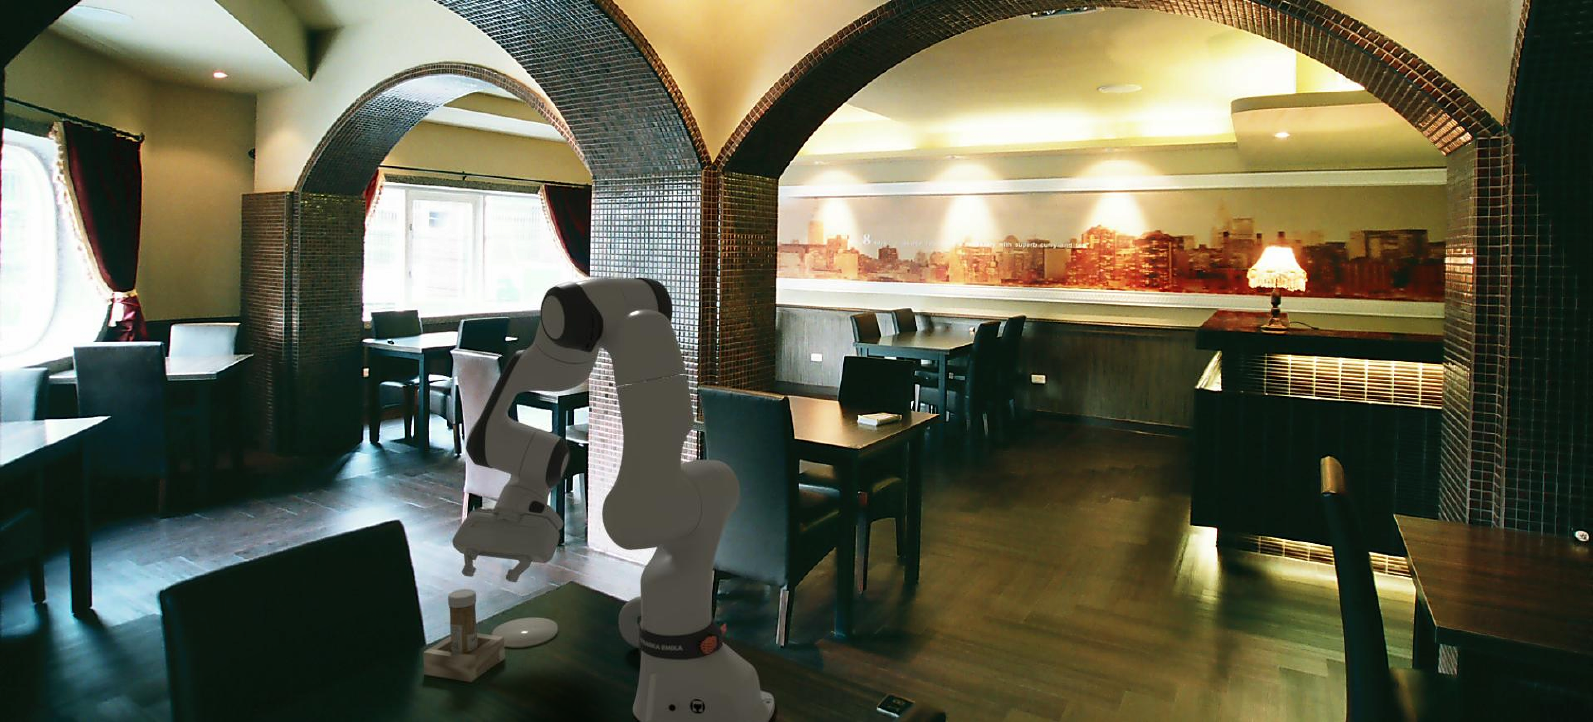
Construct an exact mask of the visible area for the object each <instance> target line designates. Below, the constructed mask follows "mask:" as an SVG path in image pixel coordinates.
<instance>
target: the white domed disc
mask: <svg viewBox="0 0 1593 722" xmlns="http://www.w3.org/2000/svg"><path fill="white" fill-rule="evenodd" d="M558 628H559V627H558V624H557V623H556V622H555V621H554V620H552V619H549V618H543V617H524V618H517V619H513V620H510V621H507V622H504V623H502V624H500V625H498V626H496V627H495V628H494V629H493V630H492V632H491V635H493V636H500V637H504V648H527V647H533V646H536V645H540V644H543V643H545V642H548V641H550V640H552V639H553V638H555V636H557V634H558V631H559V629H558Z"/></svg>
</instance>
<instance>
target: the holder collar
mask: <svg viewBox="0 0 1593 722" xmlns="http://www.w3.org/2000/svg"><path fill="white" fill-rule="evenodd" d="M477 642H478V646H477V649H476V650H474V651H473V652H471V653H470V654H468V655H467V654H461V653H454V652H452V649H451V635H449V636H448V637H446V638H445V639H443V640H441V641H439V642H438V643H436V644H435V645H433V646H431V647H429V648H428V649H426V650H424V651H423V652H422V654H423V656H422V657H423V673H424V675H425V676H433V677H439V678H445V679H450V680H457V681H464V682H468V683H471V682H474V681H475V680H476V679H478V678H479V677H481V676H482V675H483V674H485V673H486V672H488V671H489V670H490V669H492V668H493V667H495V666H496V665H497V664H500V663H501V662H502V661H503V660H505V659H506V655H505V654H506V653H505V652H506V651H505V647H504V637H500V636H493V635H492V634H486V633H478V632H477ZM487 670H488V671H487Z"/></svg>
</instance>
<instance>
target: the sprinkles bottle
mask: <svg viewBox="0 0 1593 722" xmlns="http://www.w3.org/2000/svg"><path fill="white" fill-rule="evenodd" d="M447 601H448V602H447V603H448V608H449V620H450V621H449V622H450V623H449V627H450V628H449V629H450V636H451V649H452V652H454V653H461V654H467V655H468V654H470V653H471V652H473V651H474V650H476V649H477V646H478V642H477V633H478V631H477V630H478V628H477V617H476V615H477V613H476V603H477V593H476V590H473V589H471V588H464V589H463V588H462V589H458V590H453V591H452V592H450V593H448V596H447Z"/></svg>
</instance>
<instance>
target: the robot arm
mask: <svg viewBox="0 0 1593 722" xmlns="http://www.w3.org/2000/svg"><path fill="white" fill-rule="evenodd" d="M673 311H674V310H673V301H672V299H671V295H670V293H669V291H668V289H667V287H665V285H664V284H663V283H662V282H660V281H658V280H656V279H652V278H648V277H635V278H624V277H623V278H622V277H621V278H619V277H618V278H617V277H615V278H614V277H613V278H612V277H611V278H609V277H599V278H598V277H597V278H591V279H584V280H579V281H567V282H563V283H560V284H557V285H554V286H552V287H550V288H549V289H548V290H547V291H546V292H545V293H544V296H543V299H542V300H541V305H540V320H539V323H538V327H537V330H536V333H535V337H534V339H533V342H532V344H531V345H530V346H529V347H528V348H526V349H522V350H517V351H516V352H515V353H514V354H513V355H512V356H511V357H510V359H509V360H508V361H507V363H506V365H505V366H504V368H503V370H502V372H501V374H500V375H499V377H498V379H497V381H496V383H495V385H494V387H493V389H492V391H491V394H490V396H489V397H488V400H487V402H486V404H485V406H484V408H483V410H482V412H481V414H480V416H479V418H478V419H477V420H476V422H475V423H474V424H473V426H472V427H471V428H470V431H469V433H468V435H467V438H466V444H465V450H466V452H467V455H468V457H469V458H470V460H471V461H472V463H473V464H474V465H476V466H480V467H484V468H488V469H493V470H498V471H501V472H503V473H507V474H509V475H510V478H509V480H508V481H507V483H506V484H505V485H504V486H503V488H502V490H501V492H500V494H499V496H498V499H497V500H496V503H495V505H494V507H493V508H485V507H482V506H481V507H477V508H475V509H474V510H471V511H469V512H468V514H467V516H466V518H465V519H464V520H463V522H462V523H461V524H460V526H459V528H458V529H457V531H456V533H455V534H454V536H453V538H452V546H453V547H454V549H455V550H457V552H459V553H460V554H463V560H464V565H463V568H462V570H461V574H462V575H463V576H464V577H469V578H472V577H474V576H475V573H476V571H477V568H476V567H475V566H474V562H473V561H476V560H477V558H478V556H479V557H480V556H481V557H489V558H497V559H506V560H514V561H518V564H517V565H516V566H515V567H513V569H512V568H511V569H510V568H509V569H508V570H507V574H506V575H505V579H506V581H508V582H511V583H517V582H518V581H519V578H520V576H521V575H523V573H525V571H526V570H528V569H529V568H530V566H531V563H539V564H547V563H549V562H550V561H551V560H552V559H553V557H554V555H555V553H556V550H557V548H558V544H559V541H560V535H561V534H560V530H562V529H563V526H564V521H563V519H562V518H561V517H560V515H559V514H558V513H557V511H555V509H553V507H551V505H549V504H548V500H549V495H550V494H551V492H552V491H553V490H554V488H555V487H556V486H558V485H559V484H561V482H562V479H563V478H564V476H565V473H566V470H567V467H568V466H569V464H570V462H571V451H570V448H569V446H568V444H567V442H566V440H565V439H564V437H562V436H559V435H558V434H556V433H553V432H550V431H547V430H544V429H541V428H537V427H534V426H531V425H528V424H526V423H522V422H520V421H516V420H514V419H513V418H511V417H510V416H509V415H508V414H507V413H508V412H509V409H510V407H511V406H512V403H513V401H514V400H515V398H516V396H517V394H520V393H526V392H550V393H555V392H557V393H558V392H565V391H569V390H572V389H574V388H577V387H578V386H580V385H582V384H583V383H585V381H587V379H588V378H589V377H590V376H591V373H592V371H593V369H594V366H595V365H596V362H597V359H598V356H599V352H600V350H601V349H603V350H605V352H607V354H608V355H609V357H610V360H611V363H612V370H613V378H614V383H615V387H616V388H615V389H616V395H617V399H618V406H619V412H620V418H621V425H622V435H623V436H622V437H623V438H622V439H623V440H622V443H623V444H622V445H623V446H622V455H621V460H620V466H619V470H618V474H617V477H616V479H615V482H614V483H613V486H612V487H611V489H610V491H609V492H608V493H607V494H606V496H605V498H604V501H603V504H602V511H601V515H602V516H601V517H602V523H603V526H604V527H603V528H604V530H605V532H606V534H607V536H608V537H609V538H610V539H611V541H612V542H613V543H614V544H615V545H616V546H618V547H619V548H621V549H623V550H628V551H635V550H647V549H655V548H656V549H655V551H654V553H653V556H652V557H651V558H650V560H649V561H648V563H647V564H646V565H645V567H644V568H643V570H642V573H641V576H640V582H639V584H640V596H641V615H640V616H641V617H640V619H641V620H640V621H639V623H638V626H639V648H638V651H639V655H640V668H639V677H638V684H637V690H636V694H635V695H636V696H635V698H634V703H633V706H632V713H633V715H634V716H635V718H636V719H637V721H639V722H769V721H770V720H771V718H772V717H773V714H774V713H775V712H774V711H775V708H776V707H775V706H776V705H775V698H774V695H772V693H770V692H767V691H763V690H761V686H760V685H761V684H760V680H759V679H760V678H759V675H758V673H757V670H756V668H755V667H754V666H753V665H752V664H751V663H750V662H748V661H747V660H746V659H744V658H743V657H742V656H741V655H739V654H738V653H737V652H735V651H734V650H733V649H732V648H731V647H729V646H728V645H727V644H726V643H724V642H723V640H724V639H723V638H724V637H723V636H724V634H725V633H726V631H727V628H726V627H727V623H724V624H723V625H721V626H720V627H719V626H718V624H717V623H716V622H715V620H714V617H713V616H712V593H713V592H712V590H713V589H712V585H713V584H712V583H713V570H714V564H715V559H716V556H717V551H718V548H719V544H720V542H721V538H722V535H723V532H724V529H725V527H726V524H727V522H728V520H729V518H730V516H731V515H732V514H733V512H734V510H735V509H736V508H737V507H738V504H739V501H740V498H741V497H740V496H741V490H740V482H739V480H738V477H737V475H736V473H735V472H734V470H733V469H732V468H731V467H730V466H729V465H728V464H727V463H725V462H724V461H720V460H715V459H693V460H690V461H687V462H683V463H682V454H683V447H684V444H685V441H686V438H687V437H688V435H689V434H690V432H692V429H693V427H694V424H695V415H694V409H693V403H692V398H691V392H690V387H689V383H688V382H689V381H688V376H687V374H686V373H687V371H686V366H685V363H684V358H683V354H682V351H681V348H680V345H679V344H680V343H679V342H678V338H677V335H676V333H675V331H674V328H673V325H672V323H671V322H672V318H673Z"/></svg>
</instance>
